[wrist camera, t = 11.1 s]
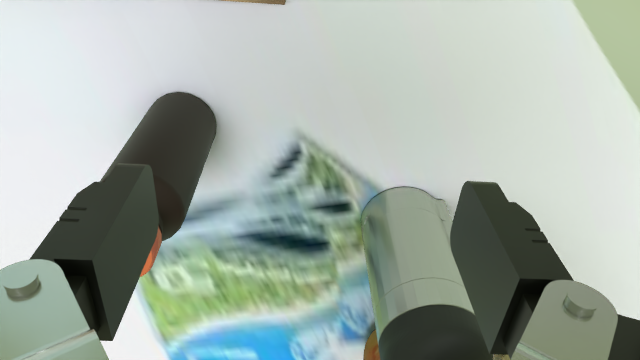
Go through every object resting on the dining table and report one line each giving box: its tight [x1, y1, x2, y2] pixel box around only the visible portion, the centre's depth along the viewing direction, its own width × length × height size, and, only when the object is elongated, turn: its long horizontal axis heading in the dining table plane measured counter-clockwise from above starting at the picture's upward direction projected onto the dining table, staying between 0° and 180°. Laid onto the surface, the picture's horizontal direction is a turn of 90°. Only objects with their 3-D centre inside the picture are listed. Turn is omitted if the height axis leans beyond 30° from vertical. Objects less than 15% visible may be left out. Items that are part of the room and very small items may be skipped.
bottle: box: [100, 92, 216, 277], centre depth 40 cm, size 7×7×20 cm
